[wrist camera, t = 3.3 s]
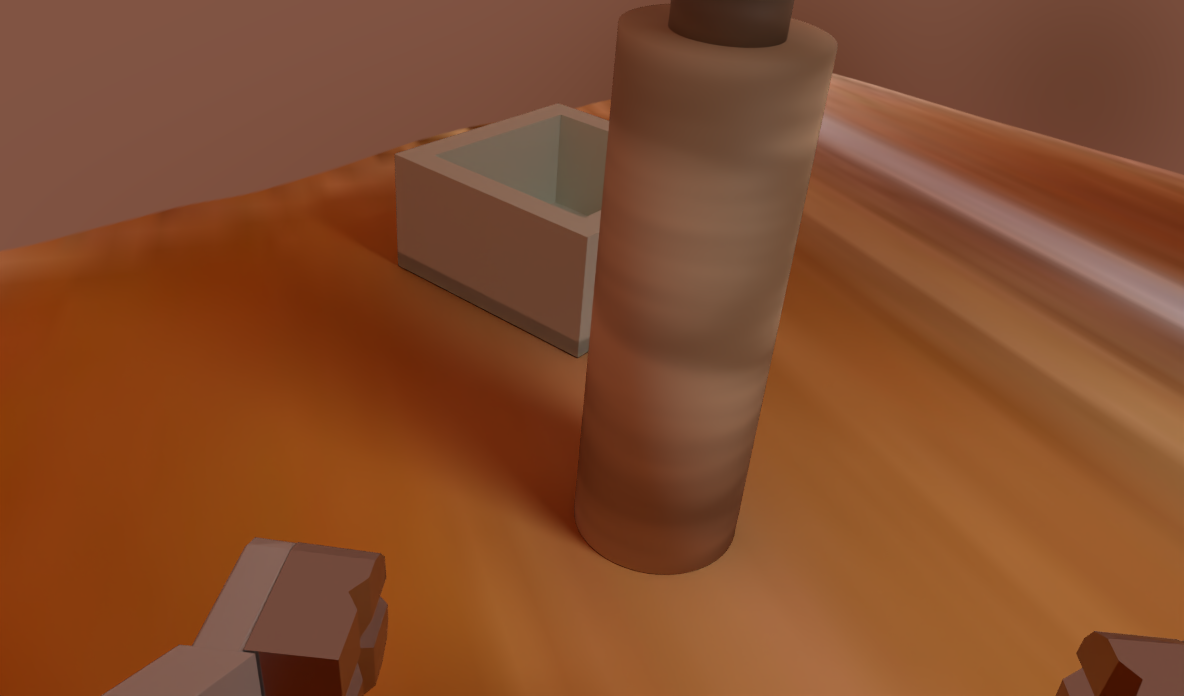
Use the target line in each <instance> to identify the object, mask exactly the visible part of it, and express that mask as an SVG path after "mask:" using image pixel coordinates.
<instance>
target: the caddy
mask: <svg viewBox="0 0 1184 696" xmlns="http://www.w3.org/2000/svg"><path fill="white" fill-rule="evenodd" d="M608 130H609V121H608V120H605V119H602V118H600V117H597V116H594V115H591V114H588V113H585V112H582V111H579V110H577V109H574V108H571V107H568V106H565V105H562V104H559V103H557V104H554V105H551V106H547V107H544V108H541V109H538V110H535V111H531V112H528V113H525V114H522V115H519V116H515V117H512V118H509V119H505V120H502V121H499V122H496V123H493V124H489V125H486V126H483V127H480V128H476V129H473V130H470V131H467V132H464V133H460V134H457V135H454V136H451V137H447V138H444V139H441V140H438V141H435V142H431V143H428V144H425V145H422V146H418V147H415V148H412V149H409V150H406V151H402V152H399V153H396V154H395V184H396V215H397V247H398V265H399V266H401V267H403V268H405V269H407V270H409V271H410V272H412V273H414V274H416V275H418V276H420V277H422V278H424V279H426V280H428V281H430V282H432V283H434V284H436V285H438V286H440V287H441V288H443V289H445V290H447V291H449V292H451V293H453V294H455V295H457V296H459V297H461V298H463V299H465V300H467V301H469V302H471V303H473V304H474V305H476V306H478V307H480V308H482V309H484V310H486V311H488V312H490V313H492V314H494V315H496V316H498V317H500V318H502V319H504V320H505V321H507V322H509V323H511V324H513V325H515V326H517V327H519V328H521V329H523V330H525V331H527V332H529V333H531V334H533V335H535V336H536V337H538V338H540V339H542V340H544V341H546V342H548V343H550V344H552V345H554V346H556V347H558V348H560V349H562V350H564V351H566V352H568V353H569V354H571V355H573V356H575V357H577V358H578V357H580V356H581V355H583V354H585V353H586V352H588V350H589V339H590V328H591V317H592V306H593V295H594V284H595V273H596V262H597V251H598V240H599V229H600V218H601V207H602V196H603V185H604V174H605V163H606V152H607V141H608Z"/></svg>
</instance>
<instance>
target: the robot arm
mask: <svg viewBox="0 0 1184 696" xmlns="http://www.w3.org/2000/svg"><path fill="white" fill-rule="evenodd" d="M385 580H386V567H385V556H383V555H382V554H381V553H373V552H366V551H359V550H351V549H344V548H336V547H329V546H322V545H314V544H307V543H299V542H298V543H293V542H286V541H278V540H271V539H264V538H256V537H255V538H254V539H253V540H252V541H251V542H250V543H249V544H248V545H247V546H245V548H244V550H243V551H242V553H241V555H240V557H239V559H238V561H237V563H236V564H235V566H234V568H233V570H232V572H231V574H230V576H229V578H228V579H227V581H226V583H225V585H224V587H223V589H222V591H221V592H220V594H219V596H218V598H217V600H216V602H215V604H214V606H213V607H212V609H211V611H210V613H209V615H208V617H207V619H206V620H205V622H204V624H203V626H202V628H201V630H200V632H199V634H198V635H197V637H196V639H195V641H194V643H193V645H192V646H187V645H178V646H176V647H175V648H173V649H172V650H170V651H169V652H167V653H166V654H164V655H163V656H161V657H159V658H158V659H156V660H155V661H153V662H152V663H150V664H149V665H147V666H146V667H144V668H143V669H141V670H140V671H138V672H137V673H135V674H134V675H132V676H130V677H129V678H127V679H126V680H124V681H123V682H121V683H120V684H118V685H117V686H115V687H114V688H112V689H111V690H109V691H108V692H106V693H104V694H103V695H101V696H364V694H365V693H366V692H368V691H369V690H370V689H371V688H373V687H374V686H375V685H376V682H377V679H378V675H379V672H380V669H381V665H382V661H383V656H384V651H385V645H386V640H387V628H388V604H387V603H386V602H385V601H384V600H383V599H382V598H381V597H380V595H381V592H382V589H383V586H384V583H385ZM1076 654H1077V656H1078V659H1079V661H1080V663H1081V666H1082V668H1081V669H1080V670H1078V671H1076V672H1075V673H1073V674H1071V675H1069V676H1068V677H1066V678H1064V679H1063V680H1062V682H1061V685H1060V687H1059V689H1058V691H1057V694H1056V696H1184V641H1180V640H1177V639H1168V638H1158V637H1148V636H1138V635H1128V634H1118V633H1108V632H1098V631H1094V632H1092V633H1091V634H1090V635H1088V636H1087V637H1085V638H1084V640H1083V641H1082V643H1081V645H1080V647H1079V649H1078V651H1077V653H1076Z"/></svg>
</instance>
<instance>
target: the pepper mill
mask: <svg viewBox="0 0 1184 696" xmlns="http://www.w3.org/2000/svg"><path fill="white" fill-rule="evenodd" d="M793 4H794V0H671V4H660V5H651V6H645V7H640V8H636V9H632V10H630V11H628V12H626V13H624V14H623V15H622V16H621V17H620V18H619V21H618V32H617V43H616V54H615V65H614V77H613V86H612V98H611V108H610V119H609V130H608V141H607V152H606V163H605V174H604V185H603V196H602V207H601V218H600V229H599V240H598V251H597V262H596V273H595V284H594V295H593V306H592V317H591V328H590V339H589V350H588V361H587V372H586V383H585V394H584V405H583V416H582V427H581V438H580V449H579V460H578V471H577V482H576V493H575V504H574V517H575V522H576V525H577V527H578V530H579V532H580V533H581V535H582V537H583V538H584V539H585V541H586V542H587V543H588V544H589V545H590V546H591V547H592V548H593V549H594V550H595V551H596V552H598V553H599V554H601V555H602V556H603V557H605V558H607V559H608V560H610V561H612V562H614V563H616V564H618V565H620V566H623V567H626V568H629V569H632V570H635V571H639V572H644V573H651V574H664V575H670V574H681V573H687V572H691V571H695V570H698V569H701V568H703V567H705V566H708V565H710V564H711V563H713V562H715V561H716V560H717V559H719V558H720V557H721V556H722V555H723V554H724V553H725V552H726V551H727V549H728V548H729V546H730V545H731V543H732V540H733V537H734V534H735V529H736V524H737V519H738V515H739V510H740V505H741V501H742V496H743V491H744V486H745V482H746V477H747V472H748V468H749V463H750V458H751V453H752V449H753V444H754V439H755V435H756V430H757V425H758V420H759V416H760V411H761V406H762V401H763V397H764V392H765V387H766V383H767V378H768V373H769V368H770V364H771V359H772V354H773V350H774V345H775V340H776V335H777V331H778V326H779V321H780V316H781V312H782V307H783V302H784V298H785V293H786V288H787V283H788V279H789V274H790V269H791V265H792V260H793V255H794V250H795V246H796V241H797V236H798V232H799V227H800V222H801V217H802V213H803V208H804V203H805V198H806V194H807V189H808V184H809V180H810V175H811V170H812V165H813V161H814V156H815V151H816V147H817V142H818V137H819V132H820V128H821V123H822V118H823V113H824V109H825V104H826V99H827V95H828V90H829V85H830V80H831V76H832V71H833V66H834V62H835V56H836V52H837V46H838V44H837V42H836V40H835V39H834V38H833V37H832V36H831V35H830V34H828V33H827V32H825V31H823V30H822V29H820V28H818V27H815V26H813V25H811V24H808V23H805V22H803V21H799V20H796V19H793V18H791V15H792V9H793Z"/></svg>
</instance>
